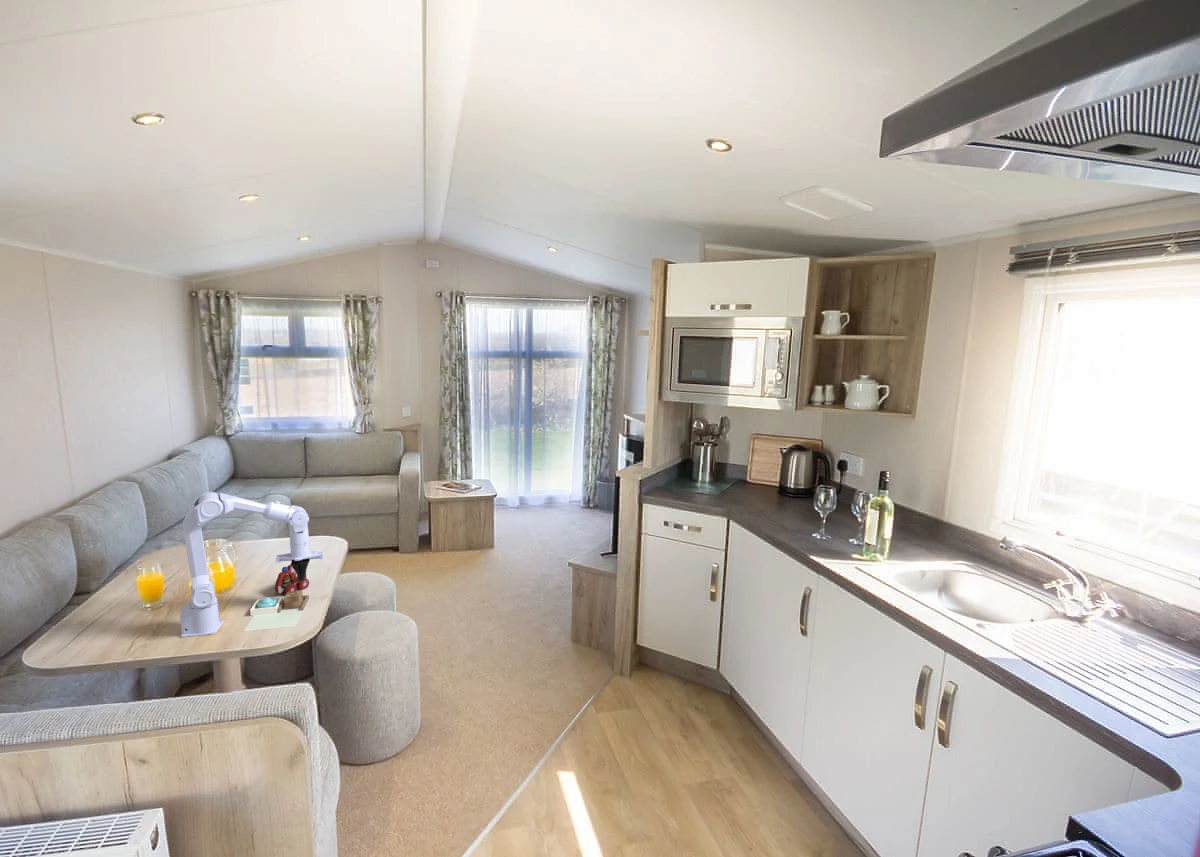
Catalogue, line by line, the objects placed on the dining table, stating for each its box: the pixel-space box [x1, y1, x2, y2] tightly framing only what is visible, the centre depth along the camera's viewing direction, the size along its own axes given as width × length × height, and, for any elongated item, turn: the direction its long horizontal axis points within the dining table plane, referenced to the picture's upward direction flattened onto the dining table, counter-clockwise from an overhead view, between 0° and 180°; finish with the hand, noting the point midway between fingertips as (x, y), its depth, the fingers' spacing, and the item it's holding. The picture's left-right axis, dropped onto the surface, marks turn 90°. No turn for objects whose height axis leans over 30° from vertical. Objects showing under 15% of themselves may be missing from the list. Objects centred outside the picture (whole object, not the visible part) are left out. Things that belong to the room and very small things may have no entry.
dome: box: [257, 596, 277, 608], centre depth 188 cm, size 6×6×4 cm
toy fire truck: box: [274, 563, 310, 595], centre depth 203 cm, size 7×12×10 cm, turn 157°
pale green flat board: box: [243, 594, 311, 632], centre depth 186 cm, size 16×20×3 cm
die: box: [283, 589, 304, 610], centre depth 191 cm, size 5×4×5 cm
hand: (302, 579), depth 191 cm, fingers closed
